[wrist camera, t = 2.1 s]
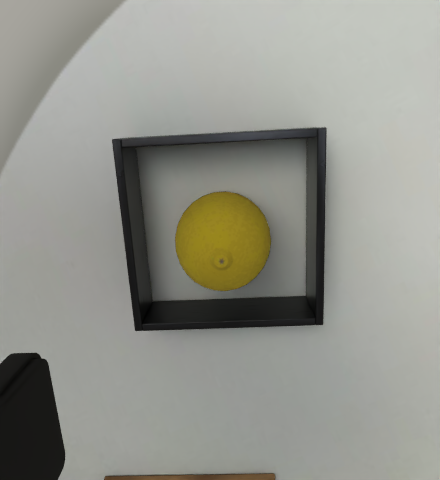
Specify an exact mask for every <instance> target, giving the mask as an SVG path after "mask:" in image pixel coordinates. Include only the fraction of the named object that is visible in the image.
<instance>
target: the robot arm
mask: <svg viewBox="0 0 440 480" xmlns="http://www.w3.org/2000/svg"><path fill="white" fill-rule="evenodd" d="M64 463H65V449H64V444H63V439H62V434H61V428H60V423H59V418H58V413H57V407H56V402H55V397H54V392H53V386H52V381H51V376H50V371H49V365H48V362H47V361H46V360H45V359H41V357H40V355H39V354H38V353H14V354H10V355H9V356H8V357H7V358H6V359H5V360H4V361H3V362H2V363H1V364H0V480H58V478H59V476H60V474H61V472H62V469H63V467H64Z"/></svg>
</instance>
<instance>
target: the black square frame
mask: <svg viewBox="0 0 440 480" xmlns="http://www.w3.org/2000/svg"><path fill="white" fill-rule="evenodd" d="M295 138H307V180H306V296H295V297H268V298H240V299H212V300H185V301H157V302H152V295H151V285H150V276H149V266H148V257H147V247H146V238H145V229H144V219H143V210H142V200H141V191H140V181H139V172H138V163H137V153H136V147H147V146H165V145H184V144H202V143H221V142H240V141H258V140H277V139H295ZM112 143H113V151H114V160H115V168H116V176H117V184H118V193H119V201H120V209H121V218H122V226H123V234H124V242H125V251H126V259H127V267H128V276H129V284H130V292H131V300H132V309H133V317H134V325H135V331H142V330H143V331H152V330H182V329H213V328H243V327H274V326H304V325H323V314H324V251H325V189H326V128H296V129H278V130H260V131H241V132H223V133H205V134H187V135H169V136H150V137H132V138H120V139H113V140H112Z"/></svg>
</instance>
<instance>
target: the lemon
mask: <svg viewBox="0 0 440 480" xmlns="http://www.w3.org/2000/svg"><path fill="white" fill-rule="evenodd" d="M175 242H176V252H177V256H178V259H179V262H180V264H181V266H182V267H183V269H184V271H185V272H186V274H187V275H188V276H189V277H190V278H191V279H192V280H193V281H195V282H196V283H198V284H200V285H201V286H203V287H205V288H209V289H212V290H218V291H228V290H234V289H237V288H240V287H242V286H244V285H247V284H248V283H249V282H250V281H252V280H253V279H254V278H255V277H256V276H257V275H258V274H259V273H260V271H261V270H262V269H263V267H264V265H265V263H266V261H267V258H268V256H269V252H270V245H271V237H270V228H269V226H268V223H267V220H266V218H265V216H264V214H263V213H262V212H261V210H260V209H259V208H258V206H257V205H255V204H254V203H253V202H252V201H250V200H249V199H248V198H246V197H244V196H241V195H239V194H237V193H231V192H214V193H211V194H208V195H205V196H202V197H201V198H199V199H198V200H196V201H195V202H193V203H192V204H191V205H190V206H189V207H188V208H187V210H186V211H185V212H184V213H183V215H182V217H181V219H180V221H179V223H178V226H177V231H176V236H175Z"/></svg>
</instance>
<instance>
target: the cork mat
mask: <svg viewBox="0 0 440 480" xmlns="http://www.w3.org/2000/svg"><path fill="white" fill-rule="evenodd" d="M104 480H275V475H274V474H226V475H164V476H106V477H105V479H104Z"/></svg>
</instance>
